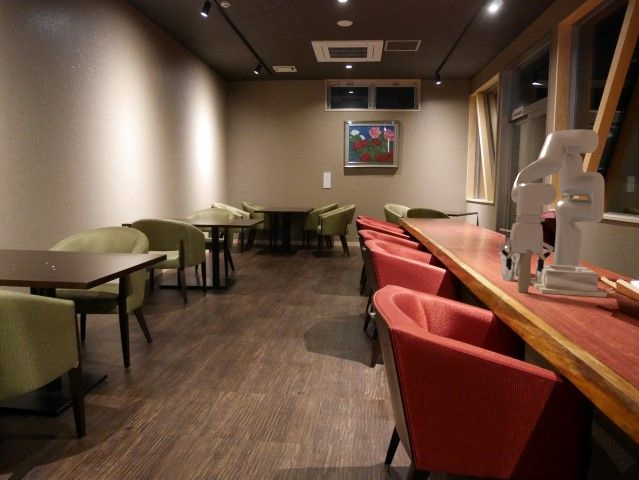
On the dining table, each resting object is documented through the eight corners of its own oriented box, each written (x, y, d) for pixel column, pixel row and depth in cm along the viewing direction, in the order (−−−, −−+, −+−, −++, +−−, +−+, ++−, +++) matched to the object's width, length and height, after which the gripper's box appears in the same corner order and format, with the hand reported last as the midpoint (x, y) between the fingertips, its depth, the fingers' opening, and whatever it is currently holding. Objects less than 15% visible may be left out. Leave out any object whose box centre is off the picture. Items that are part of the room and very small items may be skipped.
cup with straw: (521, 282, 183) (524, 229, 181) (495, 280, 186) (498, 228, 184) (519, 278, 191) (523, 227, 189) (495, 276, 194) (498, 226, 192)
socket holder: (527, 281, 186) (528, 262, 186) (584, 284, 182) (585, 265, 182) (541, 293, 165) (543, 272, 164) (606, 297, 161) (608, 275, 160)
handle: (533, 294, 163) (536, 250, 161) (512, 292, 165) (515, 248, 163) (533, 291, 167) (536, 248, 165) (513, 289, 170) (516, 247, 168)
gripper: (552, 220, 165) (548, 270, 167) (499, 218, 169) (495, 267, 170) (558, 221, 158) (554, 273, 160) (502, 219, 161) (499, 270, 163)
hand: (524, 270), depth 165 cm, fingers open, 9 cm apart
